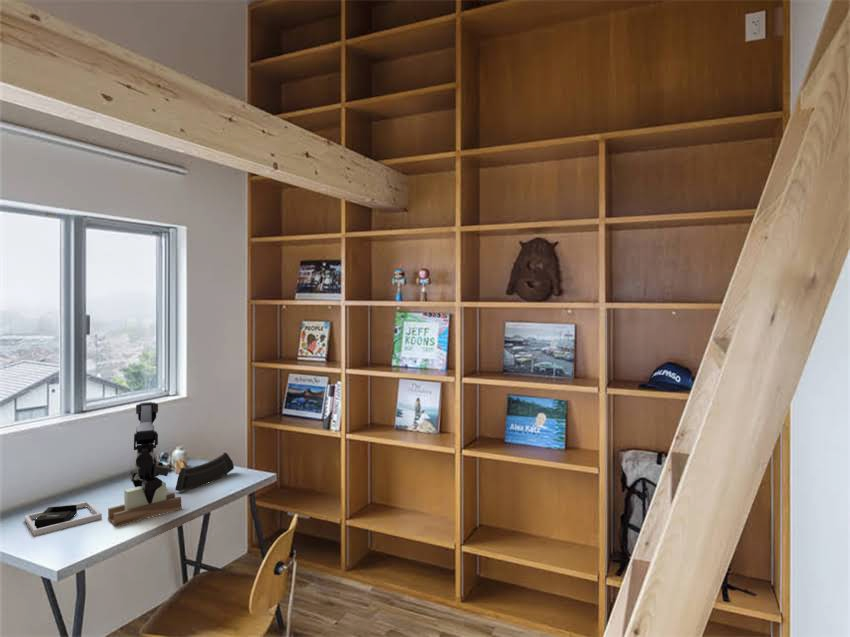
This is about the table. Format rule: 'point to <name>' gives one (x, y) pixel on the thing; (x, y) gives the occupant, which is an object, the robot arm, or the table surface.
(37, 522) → the battery charger
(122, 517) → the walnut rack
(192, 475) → the magazine
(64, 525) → the grey frame
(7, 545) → the table surface
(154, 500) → the green book
